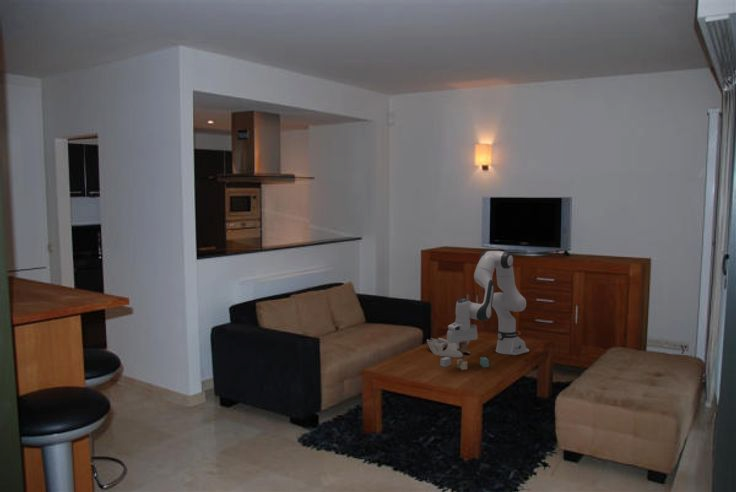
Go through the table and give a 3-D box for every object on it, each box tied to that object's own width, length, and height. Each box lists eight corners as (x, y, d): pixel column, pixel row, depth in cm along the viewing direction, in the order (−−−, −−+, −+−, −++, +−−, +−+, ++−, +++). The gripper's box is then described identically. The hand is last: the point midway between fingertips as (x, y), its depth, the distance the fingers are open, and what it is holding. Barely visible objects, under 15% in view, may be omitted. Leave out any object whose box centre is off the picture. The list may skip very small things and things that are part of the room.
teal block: (480, 364, 379) (480, 357, 378) (485, 364, 379) (485, 357, 378) (482, 367, 373) (483, 360, 372) (488, 367, 373) (488, 360, 373)
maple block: (456, 367, 373) (456, 360, 373) (461, 366, 375) (461, 359, 374) (462, 370, 368) (462, 362, 367) (467, 369, 369) (467, 361, 369)
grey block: (446, 363, 380) (446, 356, 379) (450, 365, 377) (450, 357, 377) (440, 366, 376) (440, 358, 375) (444, 367, 373) (444, 359, 373)
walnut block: (456, 350, 372) (457, 342, 371) (461, 349, 373) (461, 342, 373) (462, 352, 366) (462, 345, 366) (467, 351, 368) (467, 344, 367)
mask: (437, 332, 422) (475, 340, 403) (436, 345, 423) (474, 353, 404) (420, 338, 407) (458, 346, 388) (419, 351, 408) (458, 360, 389)
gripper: (473, 322, 376) (473, 345, 377) (445, 326, 367) (445, 348, 368) (480, 325, 370) (479, 347, 371) (451, 328, 361) (451, 351, 362)
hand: (462, 348), depth 370 cm, fingers closed on walnut block, 3 cm apart
